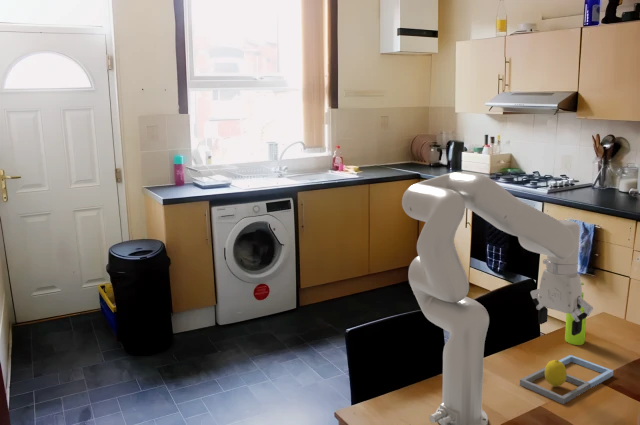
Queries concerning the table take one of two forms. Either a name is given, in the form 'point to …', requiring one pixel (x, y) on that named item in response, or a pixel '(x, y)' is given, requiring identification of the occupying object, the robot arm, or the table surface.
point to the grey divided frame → (582, 384)
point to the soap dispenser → (570, 338)
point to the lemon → (555, 373)
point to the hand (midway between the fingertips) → (559, 328)
